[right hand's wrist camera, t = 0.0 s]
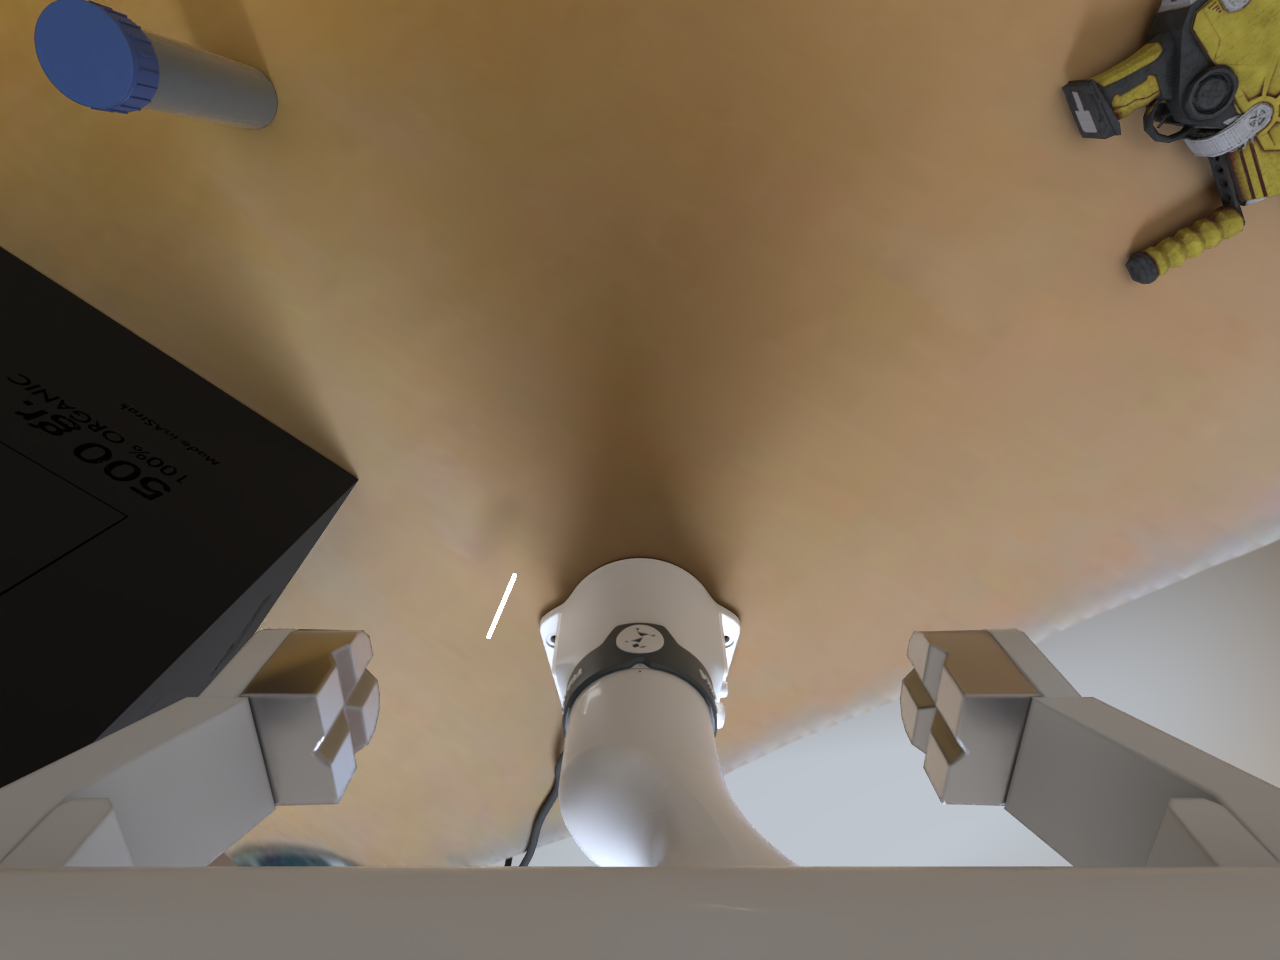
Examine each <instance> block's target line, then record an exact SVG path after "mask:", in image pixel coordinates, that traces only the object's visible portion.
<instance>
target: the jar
mask: <svg viewBox="0 0 1280 960" xmlns="http://www.w3.org/2000/svg"><path fill="white" fill-rule="evenodd" d="M141 30H142V31H143V32H144V34H145V35H146V36H147V38H148V39H149V41H151V45H152V46H153V48H154V51H155V53H156V56H157V57H158V64H159V74H160V76H159V84H158V88H157V89H158V90H157V91H156V93H155V95H154V97H153V98H152V100H151V103H148V104H147V105H146V106H144V107H143V108H141V109H144V110H150V111H155V112H161V113H166V114H171V115H177V116H182V117H188V118H193V119H199V120H204V121H209V122H215V123H220V124H226V125H231V126H237V127H242V128H247V129H260V128H263V127H265V126H267V125H268V124H269V123H270V122H271V121H272V120H273V118H274V116H275V114H276V111H277V96H276V92H275V89H274V87H273V85H272V83H271V82H270V80H269V79H268V78H267V77H266V76H265V75H264V74H263V73H262V72H261V71H259V70H258V69H256V68H254V67H252V66H249V65H246V64H243V63H240V62H237V61H234V60H231V59H229V58H226V57H223V56H220V55H217V54H214V53H211V52H208V51H205V50H203V49H200V48H197V47H194V46H191V45H188V44H185V43H182V42H179V41H177V40H174V39H171V38H168V37H165V36H162V35H159V34H156V33H153V32H151V31H148V30H145V29H142V28H141Z"/></svg>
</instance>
